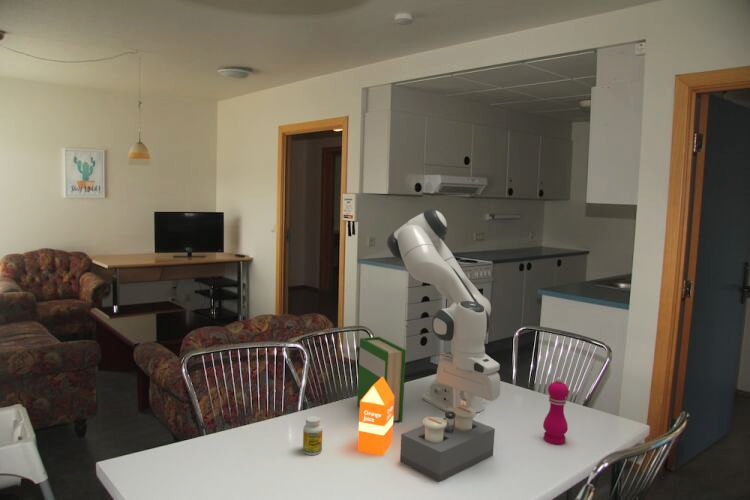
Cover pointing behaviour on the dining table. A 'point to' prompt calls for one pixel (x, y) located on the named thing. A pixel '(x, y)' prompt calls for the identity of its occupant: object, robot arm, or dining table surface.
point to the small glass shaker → (449, 421)
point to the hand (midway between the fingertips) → (465, 406)
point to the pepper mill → (556, 413)
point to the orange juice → (376, 419)
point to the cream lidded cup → (463, 417)
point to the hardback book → (382, 370)
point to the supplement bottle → (312, 436)
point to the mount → (447, 450)
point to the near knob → (434, 429)
